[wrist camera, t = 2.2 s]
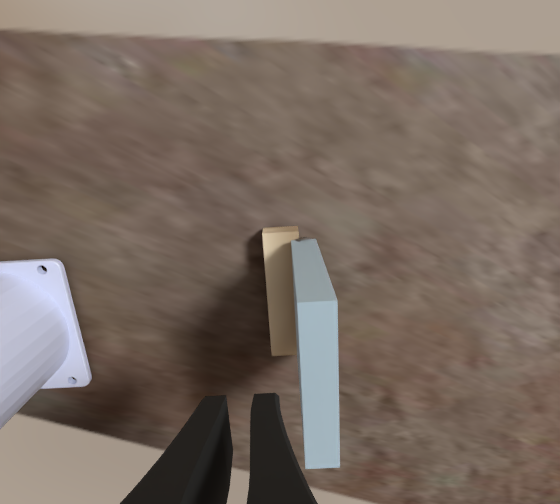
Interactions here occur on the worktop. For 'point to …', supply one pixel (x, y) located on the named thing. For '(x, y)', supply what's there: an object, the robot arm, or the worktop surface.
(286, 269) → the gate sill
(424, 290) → the worktop surface
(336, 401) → the panel
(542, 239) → the worktop surface
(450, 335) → the worktop surface
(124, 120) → the worktop surface
